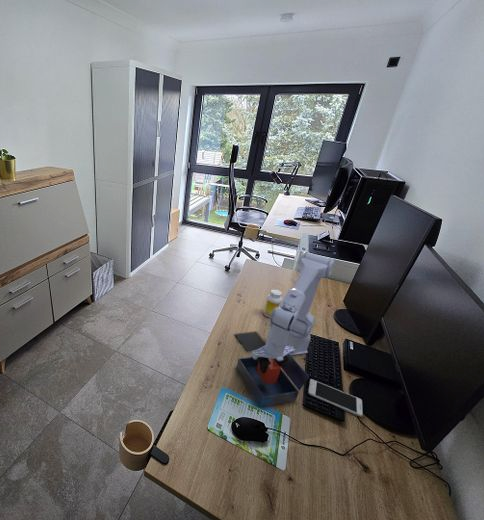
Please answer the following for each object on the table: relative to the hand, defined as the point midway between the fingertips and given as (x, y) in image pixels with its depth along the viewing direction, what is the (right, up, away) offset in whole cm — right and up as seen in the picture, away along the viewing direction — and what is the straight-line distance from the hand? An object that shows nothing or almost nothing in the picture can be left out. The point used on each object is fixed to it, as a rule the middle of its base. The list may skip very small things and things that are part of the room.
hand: (268, 370), depth 100 cm
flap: (+7, +2, 0) cm, 7 cm away
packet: (0, -3, +1) cm, 3 cm away
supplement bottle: (+19, +12, +40) cm, 46 cm away
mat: (+3, +3, +23) cm, 23 cm away
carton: (0, -7, +3) cm, 7 cm away
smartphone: (+22, -9, -1) cm, 24 cm away
